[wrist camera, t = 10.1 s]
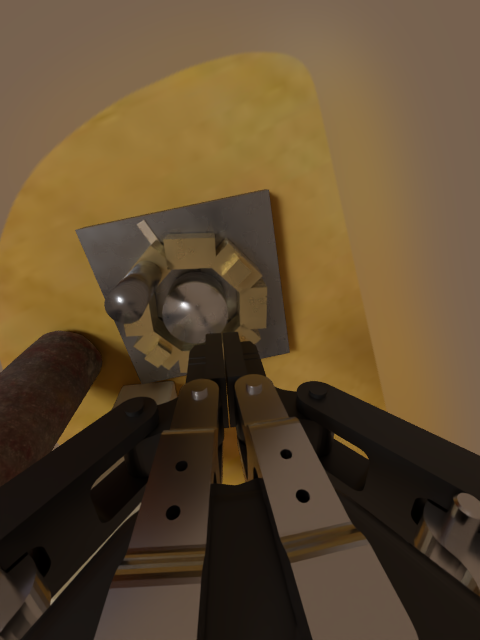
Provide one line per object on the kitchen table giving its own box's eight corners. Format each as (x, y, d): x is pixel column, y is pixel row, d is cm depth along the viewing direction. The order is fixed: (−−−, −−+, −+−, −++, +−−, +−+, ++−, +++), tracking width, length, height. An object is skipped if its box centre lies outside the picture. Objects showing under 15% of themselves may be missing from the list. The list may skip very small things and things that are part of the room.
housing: (285, 344, 35) (299, 372, 30) (145, 374, 35) (134, 408, 30) (264, 189, 28) (278, 189, 22) (84, 227, 27) (53, 237, 22)
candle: (66, 311, 31) (-135, 487, 13) (119, 353, 34) (18, 545, 16) (23, 352, 32) (-209, 561, 14) (78, 389, 35) (-58, 601, 17)
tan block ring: (188, 200, 25) (176, 208, 16) (287, 296, 30) (323, 346, 21) (101, 305, 28) (48, 364, 19) (203, 376, 33) (201, 450, 24)
